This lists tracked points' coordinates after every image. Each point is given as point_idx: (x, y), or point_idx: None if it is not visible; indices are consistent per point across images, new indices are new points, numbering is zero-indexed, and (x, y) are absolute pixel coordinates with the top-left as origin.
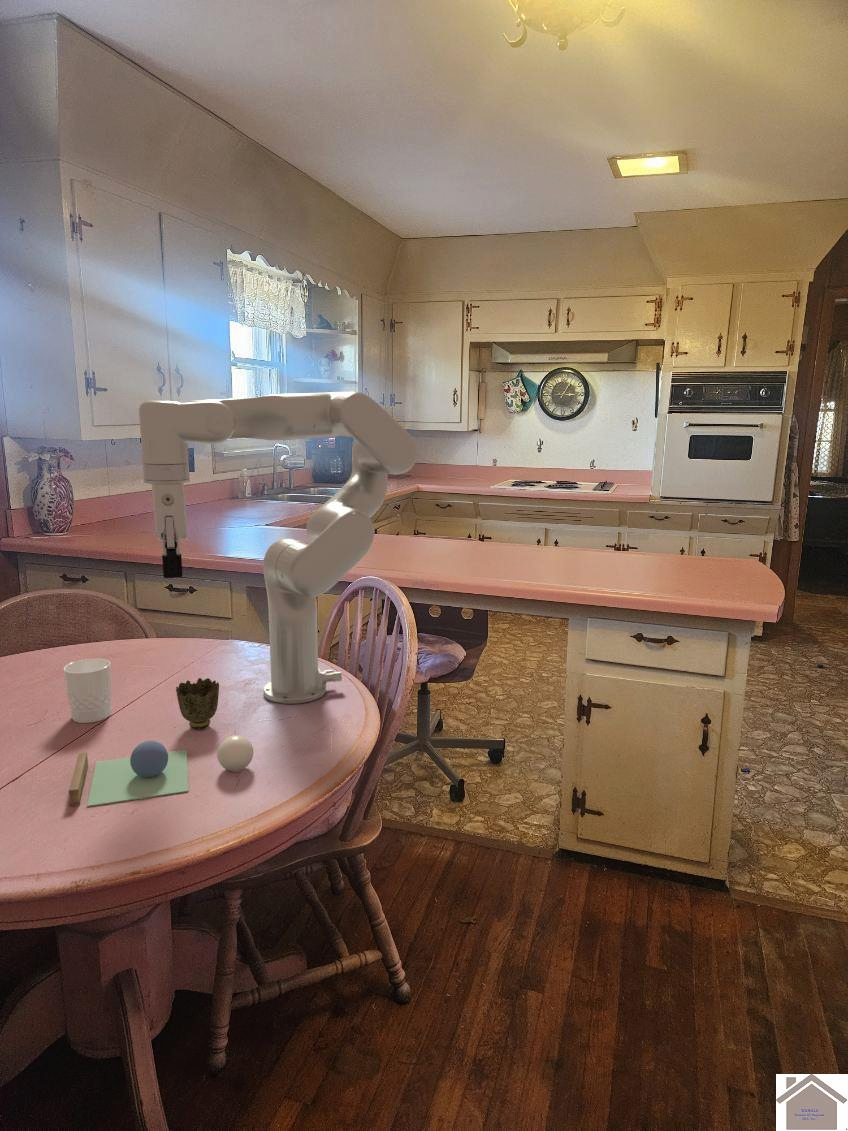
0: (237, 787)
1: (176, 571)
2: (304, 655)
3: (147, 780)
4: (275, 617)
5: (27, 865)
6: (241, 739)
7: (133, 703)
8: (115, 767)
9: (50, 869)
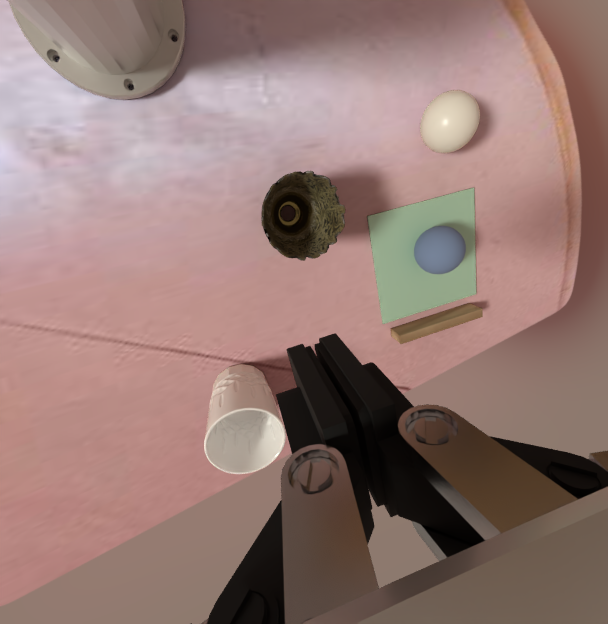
0: None
1: (375, 367)
2: None
3: None
4: None
5: (547, 305)
6: (471, 104)
7: (190, 348)
8: (401, 295)
9: (559, 284)
